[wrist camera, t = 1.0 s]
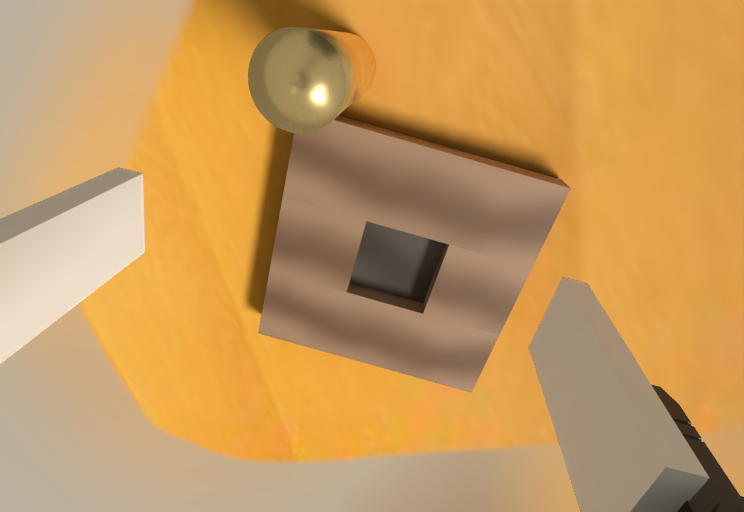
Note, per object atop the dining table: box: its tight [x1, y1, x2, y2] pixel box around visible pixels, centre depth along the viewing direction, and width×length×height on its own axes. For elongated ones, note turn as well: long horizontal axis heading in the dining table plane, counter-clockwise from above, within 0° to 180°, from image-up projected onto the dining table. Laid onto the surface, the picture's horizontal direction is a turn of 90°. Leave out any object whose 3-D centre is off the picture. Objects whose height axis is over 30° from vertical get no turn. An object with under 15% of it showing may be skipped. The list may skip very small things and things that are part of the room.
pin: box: [248, 27, 376, 134], centre depth 23 cm, size 4×4×12 cm
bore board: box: [258, 115, 570, 392], centre depth 33 cm, size 18×18×2 cm
